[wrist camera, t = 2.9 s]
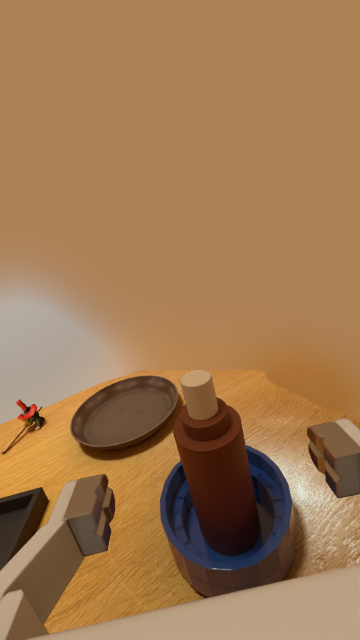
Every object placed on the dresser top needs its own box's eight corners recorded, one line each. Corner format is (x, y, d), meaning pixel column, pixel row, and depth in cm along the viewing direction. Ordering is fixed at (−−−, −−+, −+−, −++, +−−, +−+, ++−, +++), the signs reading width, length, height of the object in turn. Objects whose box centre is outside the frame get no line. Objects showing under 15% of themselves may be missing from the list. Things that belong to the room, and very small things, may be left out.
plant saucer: (200, 394, 52) (196, 380, 52) (133, 478, 37) (126, 460, 36) (128, 382, 64) (124, 370, 63) (54, 442, 48) (47, 428, 47)
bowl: (327, 583, 22) (323, 543, 20) (177, 629, 21) (163, 591, 20) (262, 461, 35) (257, 431, 33) (167, 487, 34) (158, 458, 33)
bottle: (270, 545, 25) (242, 386, 20) (207, 564, 25) (161, 408, 19) (246, 487, 31) (220, 353, 26) (195, 501, 31) (159, 369, 26)
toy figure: (40, 454, 53) (6, 454, 47) (29, 452, 54) (-5, 452, 49) (54, 404, 57) (24, 399, 51) (43, 403, 59) (13, 398, 53)
